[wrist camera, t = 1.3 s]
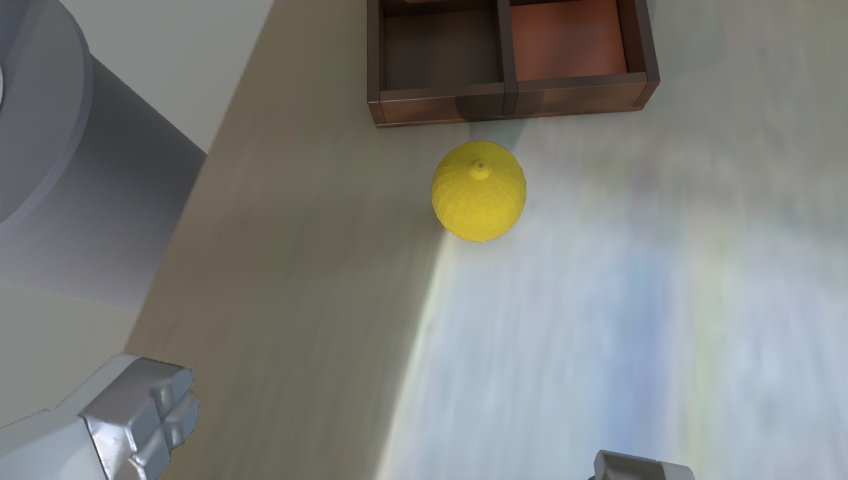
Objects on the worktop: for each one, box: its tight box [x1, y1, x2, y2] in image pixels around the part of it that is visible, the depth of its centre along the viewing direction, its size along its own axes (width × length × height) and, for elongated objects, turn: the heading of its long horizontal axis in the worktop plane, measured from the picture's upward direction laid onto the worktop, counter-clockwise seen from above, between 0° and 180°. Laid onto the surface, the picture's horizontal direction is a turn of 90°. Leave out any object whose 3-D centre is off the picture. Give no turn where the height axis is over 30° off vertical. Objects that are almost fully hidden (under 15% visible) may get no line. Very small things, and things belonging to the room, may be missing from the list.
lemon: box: [431, 141, 526, 242], centre depth 30 cm, size 6×6×8 cm
